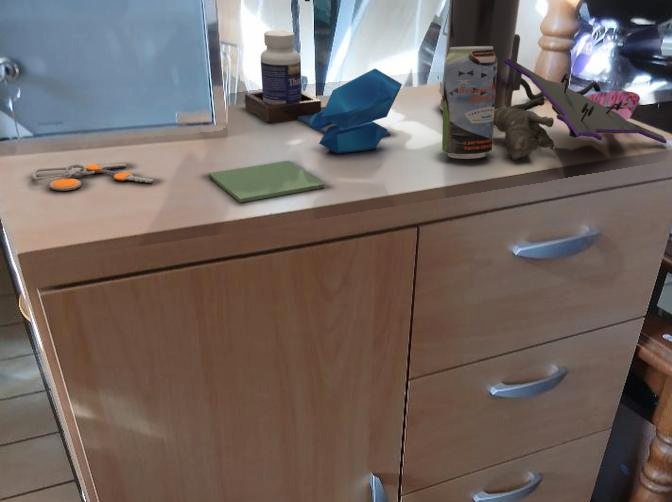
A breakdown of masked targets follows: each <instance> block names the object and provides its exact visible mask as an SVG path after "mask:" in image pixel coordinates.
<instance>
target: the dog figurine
mask: <svg viewBox="0 0 672 502" xmlns="http://www.w3.org/2000/svg"><path fill="white" fill-rule="evenodd" d="M544 104H545V97H543V96H542V97H540V98H537V99H533V100H530V99H529V100H527V101H526V102H524V103H519V104H514V105H511V107H507V108H500V109H497V110H496V111H494V125H493V127H495V128H496V129H497V130H498V131H499V132H501V133H504V134H505V135H504V140H505V144H506V149H507V150H508V153H509V155H510V157H511V159H512V160H513V161H516V160H518V159H520V158H522V157H524V156H527V155H528V154H529V153H530V152H531V151H534V150H536V149H538V148H539V147H541V148H543V149H547V148H549V149H550V150H554V148H555V141H554V140H553V139H552V138H551V137H550V135H549V134H548V131H547V130H546V129H545V128H544V127H543V126H545V127H548V128H552V127H553V126H554V123H555V122H554V120H555V119H554V117H553V116H550V117H548V116H540V115H538V114H537V113H536V112H534V111H533V110H531V109H533V108H535V107H542V106H544ZM541 125H542V126H541Z"/></svg>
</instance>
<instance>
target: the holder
mask: <svg viewBox="0 0 672 502" xmlns="http://www.w3.org/2000/svg"><path fill="white" fill-rule="evenodd" d="M301 100H302V101H301V102H293V103H285V104H277V105H270V104H268V103H266V102H264V101H263V91H256V92H247V93H244V106H245V109H246V110H247V111H248V112H250V113H252V114H254V115H255V116H256V117H258V118H260V119H261V120H263V121H265V122H266V123H269V124H272V123H281V122H289V121H294V120H297V118H298V117H299V116H304V115H311V114H317V113H319V112H320V111H321V107H322V100H320V99H318V98H316V97H314V96H312V95H310V94H308V93H307V92H305V91H302V90H301Z"/></svg>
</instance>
